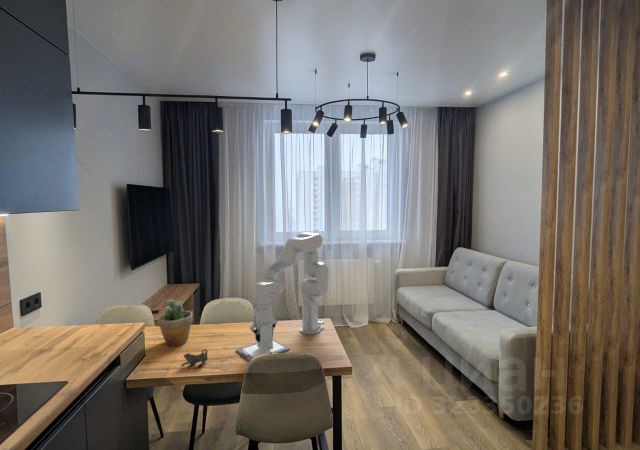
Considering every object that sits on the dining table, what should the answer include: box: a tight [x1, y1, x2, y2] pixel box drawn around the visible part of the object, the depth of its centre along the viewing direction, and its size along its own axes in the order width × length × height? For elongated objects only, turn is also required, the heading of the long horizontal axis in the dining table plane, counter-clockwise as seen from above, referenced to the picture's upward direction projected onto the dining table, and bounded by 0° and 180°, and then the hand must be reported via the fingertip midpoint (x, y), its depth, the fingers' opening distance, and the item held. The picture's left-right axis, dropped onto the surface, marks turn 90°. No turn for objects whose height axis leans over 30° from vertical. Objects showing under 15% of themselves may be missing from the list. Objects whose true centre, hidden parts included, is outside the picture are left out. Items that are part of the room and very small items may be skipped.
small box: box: [256, 324, 274, 352], centre depth 177 cm, size 8×6×13 cm
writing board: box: [235, 338, 290, 362], centre depth 180 cm, size 22×18×2 cm
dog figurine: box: [180, 349, 209, 368], centre depth 165 cm, size 12×6×7 cm, turn 100°
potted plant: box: [157, 299, 193, 347], centre depth 192 cm, size 18×19×25 cm
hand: (264, 338), depth 178 cm, fingers closed on small box, 6 cm apart
